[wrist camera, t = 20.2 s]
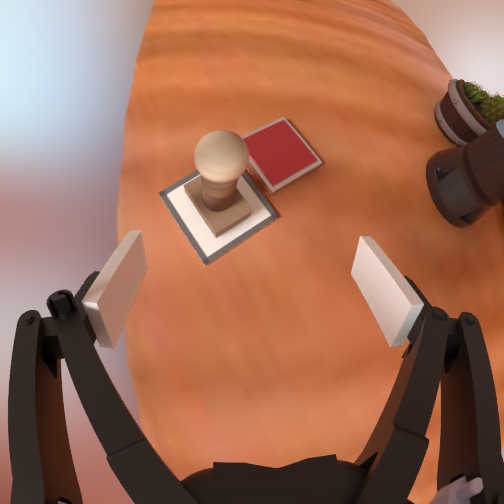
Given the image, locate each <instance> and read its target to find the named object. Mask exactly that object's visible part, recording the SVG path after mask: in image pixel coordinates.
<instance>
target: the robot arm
mask: <svg viewBox="0 0 504 504" xmlns="http://www.w3.org/2000/svg"><path fill="white" fill-rule="evenodd" d="M426 177H427V183H428V187H429V191H430V194H431V196H432V199H433V201H434V203H435V205H436V206H437V208H438V210H439V211H440V213H441V214H442V215H443V217H444V218H445V219H446V220H447V221H448V222H449V223H451V224H452V225H454V226H456V227H459V228H464V227H467V226H469V225H472V224H474V223H475V222H476V221H477V220H478V219H479V218H480V217H481V216H482V215H483V214H484V213H485V212H486V211H487V210H488V209H489V208H490V207H492V206H494V205H496V204H499V203H501V205H502V207H503V210H504V120H502V121H498V122H497V123H496V125H495V126H494V127H492V128H491V129H489V130H488V131H486V132H485V133H483V134H482V135H480V136H479V137H477V138H476V139H474V140H473V141H471V142H470V143H468V144H467V145H465V146H463V147H459V148H453V149H448V150H442V151H440V152H438V153H436V154H435V155H433V156H432V157H431V158H430V159H429V161H428V163H427V167H426ZM147 270H148V269H147V263H146V257H145V250H144V244H143V237H142V230H130V231H129V232H128V233H127V235H126V236H125V238H124V239H123V240H122V242H121V243H120V244H119V246H118V247H117V249H116V250H115V252H114V253H113V255H112V256H111V257H110V259H109V260H108V261H107V263H106V265H105V266H104V267H103V269H102V270H101V272H96V271H95V272H93V273H92V274H91V275H90V276H88V278H87V279H86V280H85V282H84V284H83V285H82V286H81V288H80V290H79V291H78V292H77V294H76V295H75V297H73V294H72V293H71V292H70V291H68V290H60V291H57V292H55V293H53V294H52V295H50V296H49V298H48V299H47V306H48V309H49V310H50V313H51V315H52V317H46V318H41V316H40V314H39V312H38V311H36V310H29V311H27V312H25V313H23V314H22V315H21V316H20V318H19V320H18V323H17V328H16V333H15V339H14V345H13V352H12V360H11V369H10V380H9V396H8V432H9V433H8V434H9V451H10V461H11V468H12V476H13V483H12V492H11V504H83V502H82V496H81V492H80V487H79V484H78V480H77V476H76V472H75V468H74V464H73V460H72V455H71V450H70V445H69V439H68V434H67V427H66V420H65V412H64V403H63V393H62V379H61V359H63V358H65V361H66V364H67V367H68V370H69V372H70V375H71V378H72V381H73V383H74V386H75V388H76V391H77V393H78V396H79V398H80V400H81V403H82V405H83V408H84V410H85V412H86V414H87V416H88V418H89V420H90V423H91V425H92V426H93V429H94V431H95V433H96V435H97V436H98V439H99V441H100V442H101V444H102V446H103V448H104V450H105V452H106V454H107V461H108V463H109V465H110V467H111V469H112V470H113V472H114V473H115V475H116V477H117V478H118V480H119V481H120V483H121V484H122V486H123V487H124V489H125V490H126V492H127V493H128V495H129V496H130V497H131V499H132V500H133V502H134V503H135V504H414V503H413V502H411V501H410V500H408V499H407V498H408V495H409V493H410V491H411V489H412V487H413V484H414V482H415V480H416V477H417V475H418V472H419V470H420V467H421V465H422V462H423V459H424V457H425V454H426V451H427V448H428V444H429V439H428V438H425V435H426V431H427V428H428V425H429V421H430V418H431V415H432V411H433V407H434V404H435V400H436V396H437V391H438V387H439V382H440V381H441V437H440V452H439V462H438V473H437V493H436V495H435V497H434V499H433V500H431V502H430V503H429V504H504V462H503V458H502V455H501V436H500V423H499V413H498V405H497V398H496V392H495V386H494V380H493V375H492V370H491V366H490V361H489V357H488V353H487V349H486V345H485V341H484V337H483V334H482V330H481V327H480V324H479V321H478V319H477V318H476V317H475V316H474V315H472V314H471V313H468V312H462V313H461V314H460V316H459V318H458V319H454V318H449V316H448V315H447V313H446V312H445V311H444V310H442V309H440V308H438V307H432V306H431V305H430V303H429V302H428V301H427V299H426V298H425V297H424V295H423V294H422V293H421V291H420V290H419V289H418V288H417V286H416V285H415V283H414V282H413V281H412V280H411V279H409V278H408V277H407V276H403V275H402V274H401V273H400V271H399V270H398V269H397V267H396V266H395V265H394V264H393V262H392V261H391V260H390V259H389V258H388V256H387V255H386V254H385V253H384V251H383V250H382V249H381V248H380V247H379V245H378V244H377V243H376V242H375V241H374V239H373V238H372V237H371V236H360V239H359V243H358V247H357V251H356V255H355V259H354V263H353V267H352V270H351V275H352V276H353V278H354V280H355V282H356V283H357V285H358V287H359V289H360V291H361V292H362V294H363V296H364V298H365V300H366V302H367V303H368V305H369V307H370V309H371V311H372V313H373V315H374V316H375V318H376V320H377V322H378V324H379V326H380V328H381V330H382V332H383V334H384V336H385V338H386V340H387V342H388V344H389V346H390V348H392V347H399V346H403V344H404V342H405V340H406V339H407V338H408V339H409V341H410V344H409V346H408V347H407V349H406V351H405V353H404V354H403V356H402V358H404V359H403V362H402V365H401V368H400V370H399V373H398V376H397V378H396V381H395V384H394V386H393V389H392V391H391V393H390V396H389V398H388V401H387V403H386V405H385V407H384V410H383V412H382V414H381V416H380V418H379V421H378V423H377V425H376V427H375V429H374V431H373V433H372V435H371V437H370V439H369V441H368V443H367V444H366V446H365V448H364V450H363V452H362V453H361V455H360V456H359V457H358V458H357V460H356V461H355V462H354V463H350V462H347V461H341V460H337V457H336V454H333V455H327V456H321V457H314V458H307V459H304V460H302V461H299V462H296V463H293V464H290V465H287V466H284V467H280V468H271V467H265V466H259V465H254V464H249V463H224V462H213V468H208V469H204V470H201V471H198V472H196V473H193V474H191V475H190V476H188V477H186V478H185V479H183V480H182V481H181V482H180V481H179V480H178V478H177V477H176V476H175V475H174V474H173V472H172V471H171V470H170V469H169V468H168V466H167V465H166V464H165V463H164V461H163V460H162V459H161V457H160V456H159V455H158V453H157V452H156V451H155V449H154V448H153V447H152V445H151V444H150V442H149V441H148V439H147V438H146V437H145V435H144V434H143V432H142V431H141V429H140V428H139V426H138V425H137V423H136V422H135V420H134V418H133V417H132V415H131V414H130V412H129V410H128V409H127V407H126V406H125V404H124V402H123V400H122V399H121V397H120V395H119V394H118V392H117V390H116V388H115V386H114V385H113V383H112V381H111V379H110V377H109V375H108V373H107V371H106V369H105V368H104V365H103V363H102V361H101V359H100V357H99V355H98V353H97V351H96V349H95V347H94V343H95V340H96V339H97V341H98V343H99V345H100V347H106V348H115V345H116V342H117V340H118V337H119V335H120V332H121V330H122V327H123V325H124V323H125V320H126V318H127V315H128V313H129V310H130V308H131V306H132V303H133V301H134V299H135V297H136V294H137V292H138V290H139V287H140V285H141V283H142V281H143V279H144V276H145V274H146V272H147Z"/></svg>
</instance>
